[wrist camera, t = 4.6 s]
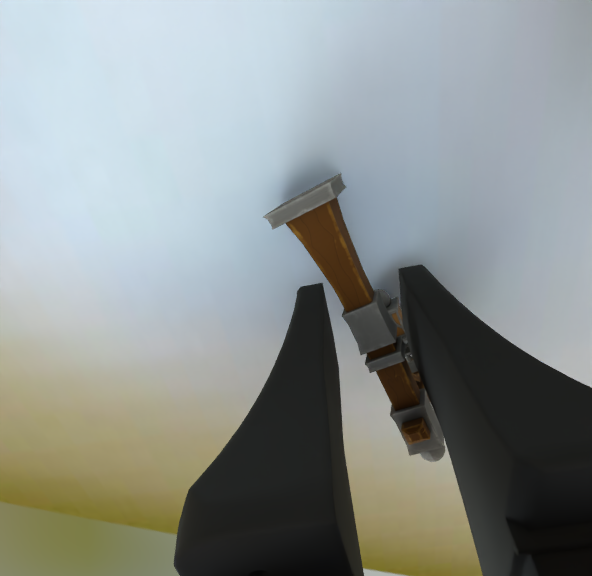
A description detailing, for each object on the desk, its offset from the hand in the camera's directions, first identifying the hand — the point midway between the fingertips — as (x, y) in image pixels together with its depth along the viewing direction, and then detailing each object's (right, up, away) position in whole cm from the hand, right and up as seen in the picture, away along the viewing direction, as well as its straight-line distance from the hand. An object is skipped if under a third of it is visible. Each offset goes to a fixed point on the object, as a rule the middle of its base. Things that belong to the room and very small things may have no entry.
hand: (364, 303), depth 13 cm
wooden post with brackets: (0, +1, +1) cm, 2 cm away
